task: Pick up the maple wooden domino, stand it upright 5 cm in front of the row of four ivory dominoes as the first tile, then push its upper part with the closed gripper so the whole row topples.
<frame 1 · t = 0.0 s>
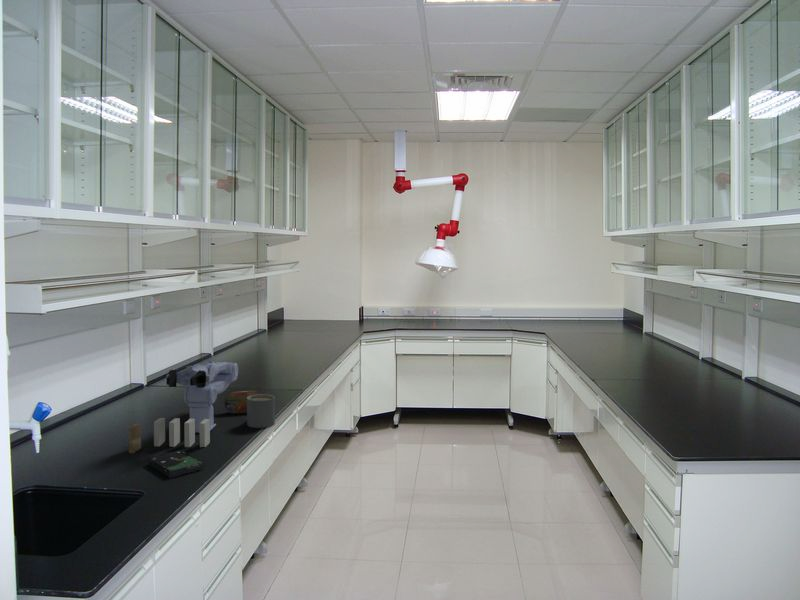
hand: (179, 381, 196), 22 cm above the countertop, tool horizontal, fingers open, 7 cm apart
tin: (244, 412, 241), on the countertop
domino 3: (174, 444, 201), on the countertop
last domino: (204, 444, 201), on the countertop
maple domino: (135, 450, 195), on the countertop
disk drive: (175, 469, 181), on the countertop
coffee mug: (261, 423, 227), on the countertop
domino 2: (159, 443, 202), on the countertop
domino 4: (189, 444, 201), on the countertop
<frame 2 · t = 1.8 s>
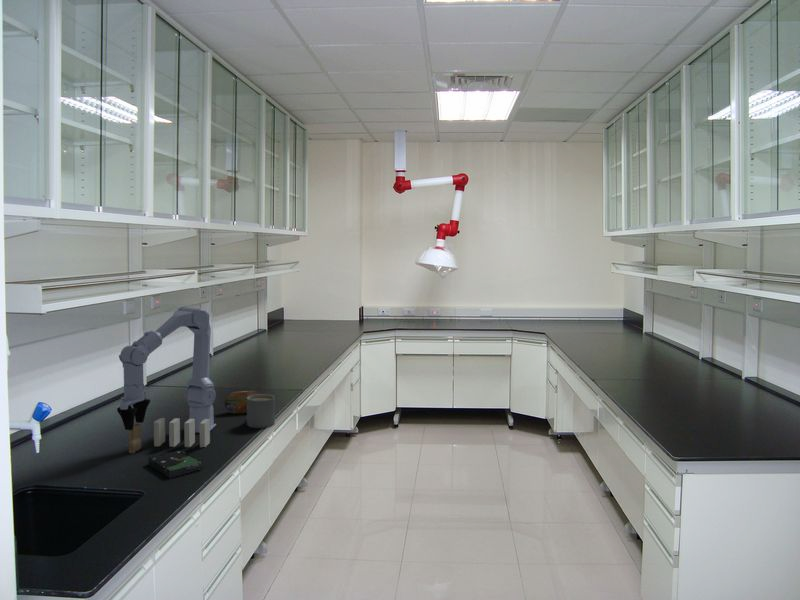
hand: (134, 425, 194), 8 cm above the countertop, tool pointing down, fingers open, 7 cm apart
nothing on the countertop moved.
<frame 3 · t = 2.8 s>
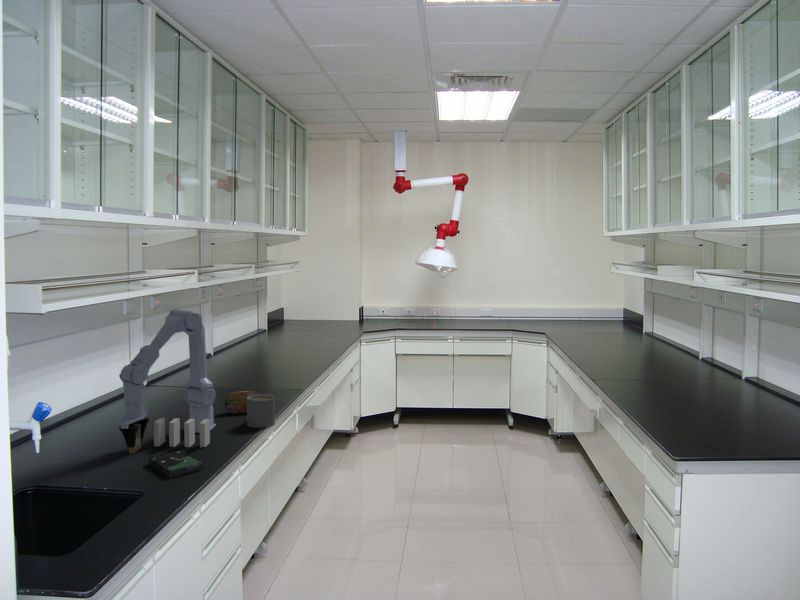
hand: (135, 444, 194), 2 cm above the countertop, tool pointing down, fingers closed on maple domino, 5 cm apart
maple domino: (135, 450, 195), on the countertop, touching gripper
everything else where it was.
when the fingers open (3 cm above the countertop, at t = 6.7 s): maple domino moves 2 cm and tips over, resting on domino 2.
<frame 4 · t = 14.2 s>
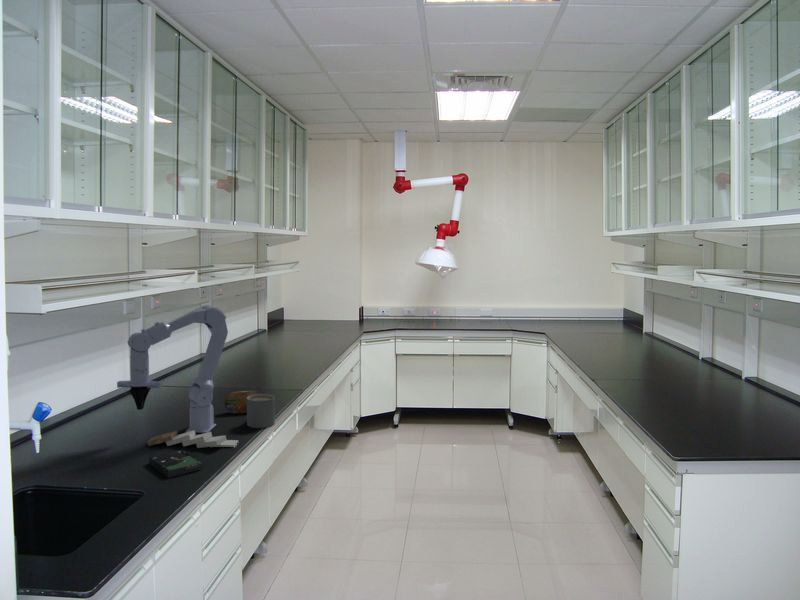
hand: (140, 408, 205), 10 cm above the countertop, tool pointing down, fingers closed
domino 3: (186, 441, 202), point 1 cm above the countertop, tilted 71°, touching domino 2, domino 4
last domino: (212, 444, 202), on the countertop, tilted 90°, touching domino 4
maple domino: (151, 441, 201), point 1 cm above the countertop, tilted 74°, touching domino 2
domino 2: (169, 441, 202), point 1 cm above the countertop, tilted 72°, touching domino 3, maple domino
domino 4: (201, 442, 200), point 1 cm above the countertop, tilted 76°, touching domino 3, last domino
everything else where it was.
at the end: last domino tilted 90°; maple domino tilted 74° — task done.
